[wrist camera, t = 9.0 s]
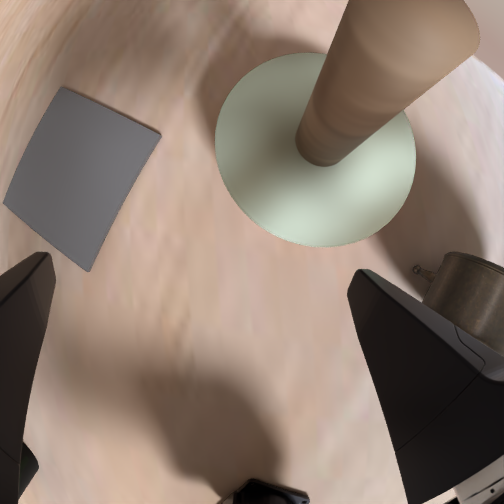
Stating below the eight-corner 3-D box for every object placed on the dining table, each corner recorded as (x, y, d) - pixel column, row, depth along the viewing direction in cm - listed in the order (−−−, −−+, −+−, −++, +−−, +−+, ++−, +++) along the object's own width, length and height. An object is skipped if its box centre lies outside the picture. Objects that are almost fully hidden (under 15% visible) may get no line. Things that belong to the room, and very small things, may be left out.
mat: (161, 136, 20) (160, 135, 20) (89, 271, 21) (87, 272, 21) (63, 88, 20) (61, 86, 20) (5, 203, 21) (2, 202, 21)
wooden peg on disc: (439, 168, 16) (604, 118, 4) (306, 288, 17) (407, 412, 5) (321, 33, 16) (372, -123, 3) (177, 135, 17) (54, -3, 4)
